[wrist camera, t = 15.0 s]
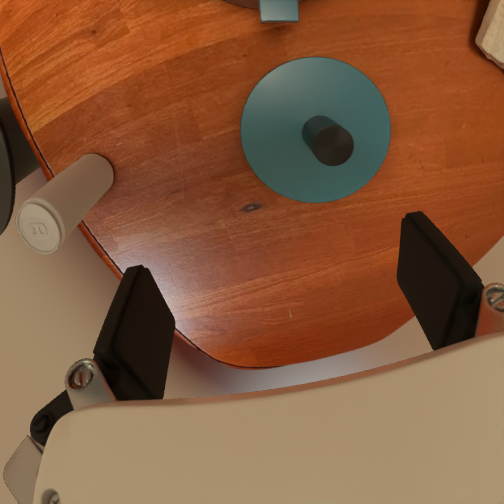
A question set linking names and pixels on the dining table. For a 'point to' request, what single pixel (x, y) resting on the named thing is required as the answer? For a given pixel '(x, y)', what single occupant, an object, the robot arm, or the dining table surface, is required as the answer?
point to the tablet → (492, 33)
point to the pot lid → (315, 129)
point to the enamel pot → (273, 9)
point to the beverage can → (63, 203)
